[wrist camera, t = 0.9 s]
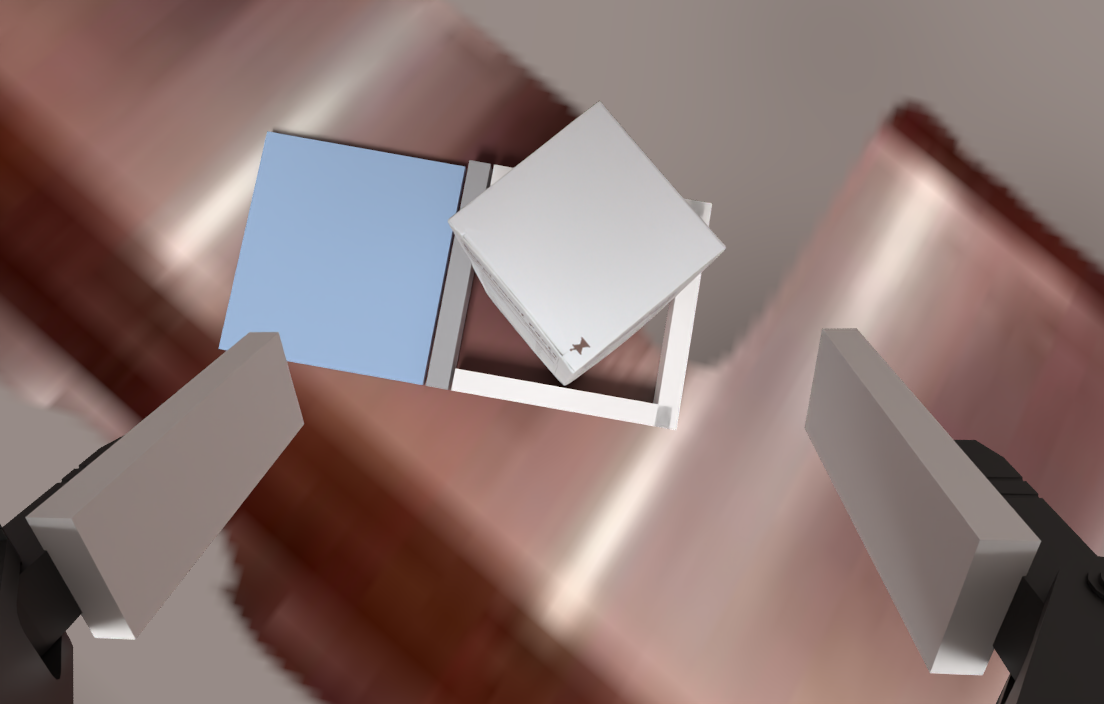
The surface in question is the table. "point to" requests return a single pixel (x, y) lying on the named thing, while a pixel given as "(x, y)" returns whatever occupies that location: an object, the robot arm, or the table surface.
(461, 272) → the bay rack
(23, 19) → the table surface
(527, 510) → the table surface
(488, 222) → the supplement box
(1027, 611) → the robot arm
